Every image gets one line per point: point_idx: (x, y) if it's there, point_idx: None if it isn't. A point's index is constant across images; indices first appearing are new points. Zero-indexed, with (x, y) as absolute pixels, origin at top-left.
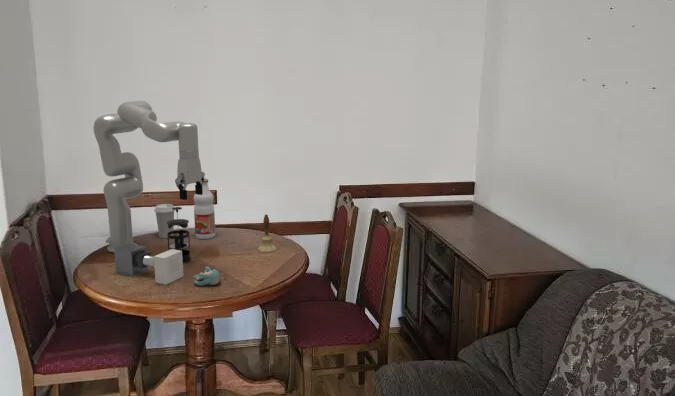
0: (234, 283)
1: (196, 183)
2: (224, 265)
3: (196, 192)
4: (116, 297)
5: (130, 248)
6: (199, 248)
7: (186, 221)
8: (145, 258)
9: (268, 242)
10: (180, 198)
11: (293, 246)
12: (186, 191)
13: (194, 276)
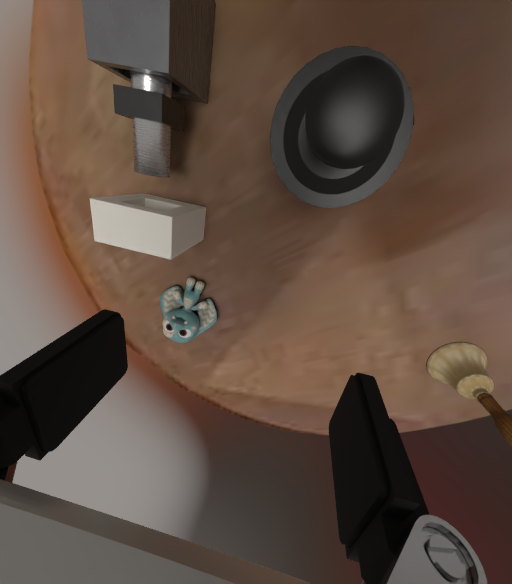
0: (207, 352)
1: (398, 546)
2: (303, 302)
3: (350, 398)
4: (38, 155)
5: (117, 10)
6: (471, 154)
7: (354, 189)
8: (133, 128)
9: (452, 386)
10: (102, 316)
11: (483, 412)
12: (56, 438)
13: (187, 280)
